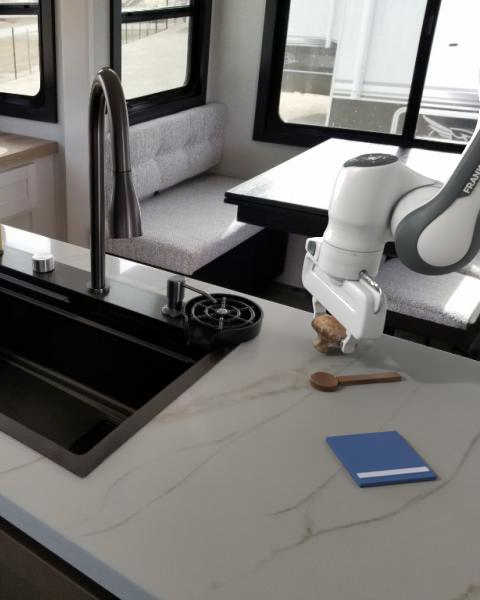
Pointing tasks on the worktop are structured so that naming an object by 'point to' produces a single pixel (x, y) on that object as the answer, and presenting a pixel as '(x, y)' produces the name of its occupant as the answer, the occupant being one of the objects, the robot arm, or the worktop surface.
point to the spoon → (349, 379)
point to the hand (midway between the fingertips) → (331, 335)
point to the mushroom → (328, 332)
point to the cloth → (379, 459)
